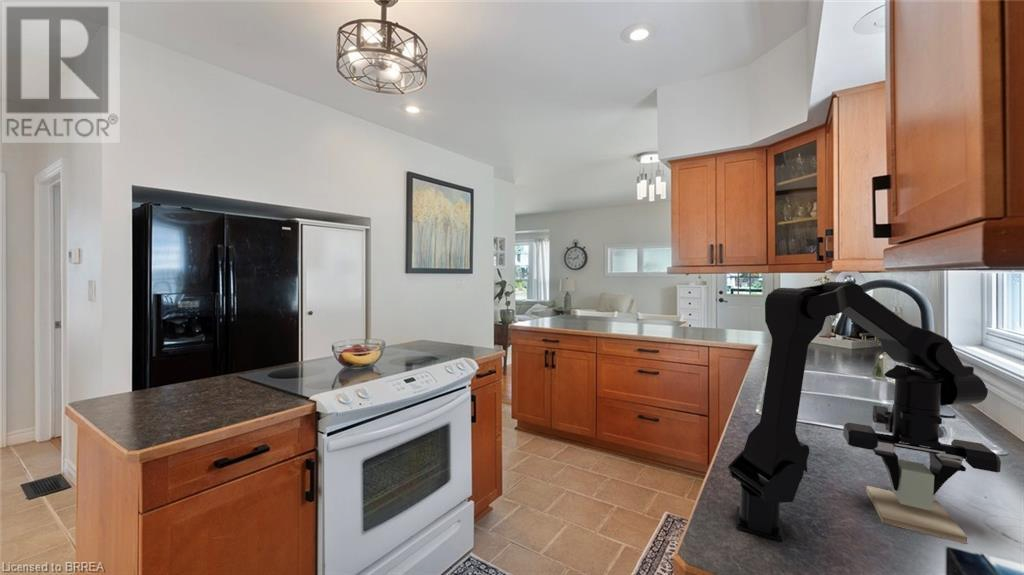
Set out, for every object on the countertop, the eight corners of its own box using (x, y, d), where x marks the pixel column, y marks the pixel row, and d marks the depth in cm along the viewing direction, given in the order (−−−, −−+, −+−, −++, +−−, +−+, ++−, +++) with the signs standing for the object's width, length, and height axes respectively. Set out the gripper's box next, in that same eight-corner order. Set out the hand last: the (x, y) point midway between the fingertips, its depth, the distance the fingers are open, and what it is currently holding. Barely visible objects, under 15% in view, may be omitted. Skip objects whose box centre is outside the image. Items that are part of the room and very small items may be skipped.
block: (932, 510, 68) (934, 475, 68) (900, 503, 70) (902, 469, 70) (922, 496, 72) (923, 463, 72) (891, 490, 74) (893, 458, 74)
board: (967, 543, 64) (967, 537, 64) (882, 522, 69) (882, 517, 69) (937, 506, 74) (938, 501, 74) (865, 490, 79) (866, 485, 79)
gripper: (972, 402, 73) (967, 487, 73) (839, 386, 82) (836, 461, 83) (1005, 421, 63) (999, 519, 64) (850, 400, 73) (847, 485, 73)
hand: (911, 493), depth 71 cm, fingers closed on block, 4 cm apart
